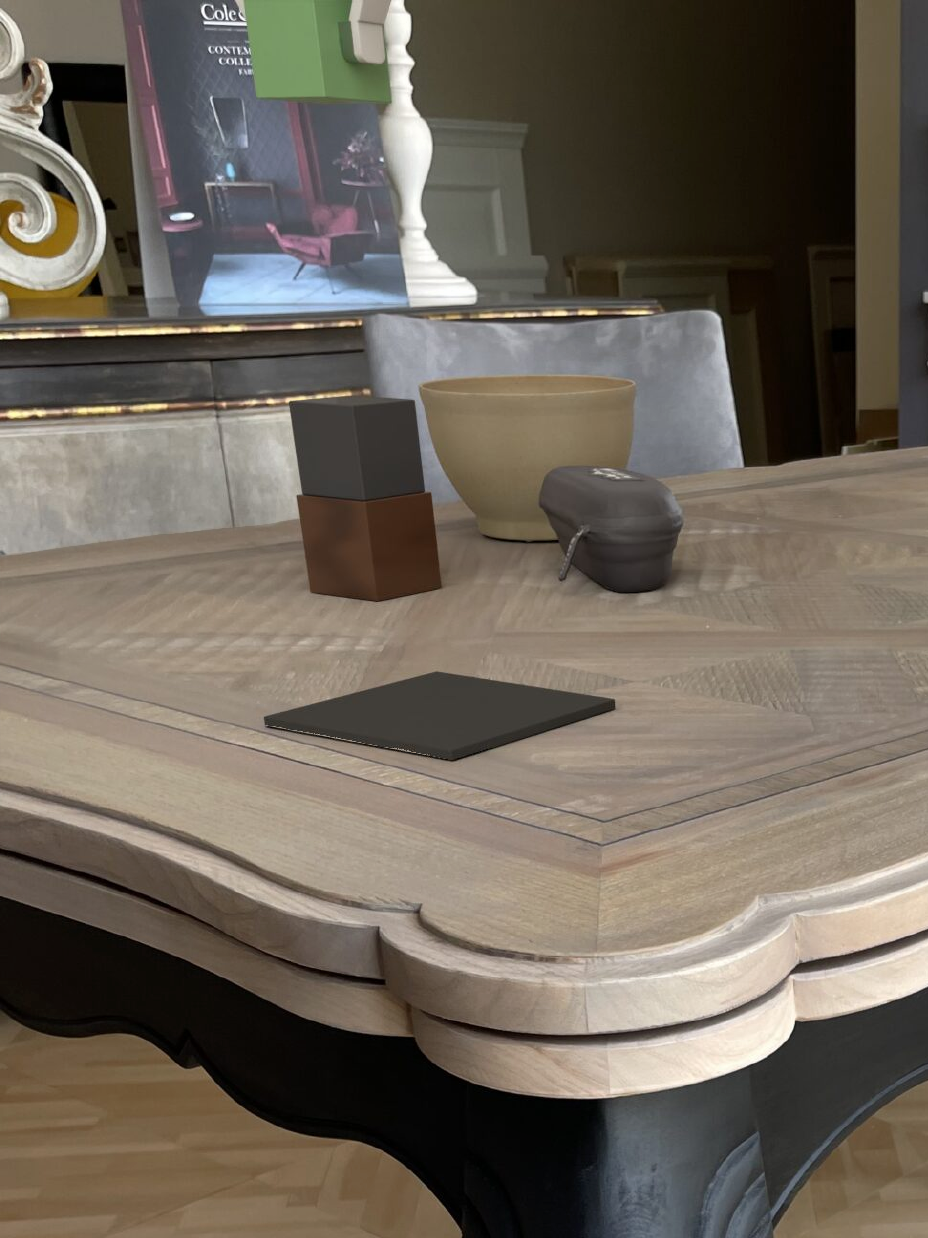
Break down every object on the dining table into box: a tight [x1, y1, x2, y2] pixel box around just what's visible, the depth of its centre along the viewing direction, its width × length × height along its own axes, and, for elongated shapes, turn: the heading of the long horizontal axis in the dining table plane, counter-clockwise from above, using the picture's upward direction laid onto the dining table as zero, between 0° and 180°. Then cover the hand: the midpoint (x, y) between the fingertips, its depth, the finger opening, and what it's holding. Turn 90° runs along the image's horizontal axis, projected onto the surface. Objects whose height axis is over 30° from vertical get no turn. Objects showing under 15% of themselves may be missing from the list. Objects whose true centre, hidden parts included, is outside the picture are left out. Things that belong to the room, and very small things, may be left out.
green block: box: [243, 0, 393, 105], centre depth 96 cm, size 5×5×5 cm
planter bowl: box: [418, 373, 637, 543], centre depth 139 cm, size 16×16×11 cm
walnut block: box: [295, 490, 443, 602], centre depth 118 cm, size 6×6×6 cm
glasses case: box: [538, 466, 684, 593], centre depth 124 cm, size 18×10×8 cm, turn 24°
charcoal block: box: [288, 395, 426, 501], centre depth 115 cm, size 6×6×6 cm
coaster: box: [263, 670, 617, 761], centre depth 89 cm, size 12×12×1 cm
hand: (320, 65), depth 96 cm, fingers closed on green block, 5 cm apart
